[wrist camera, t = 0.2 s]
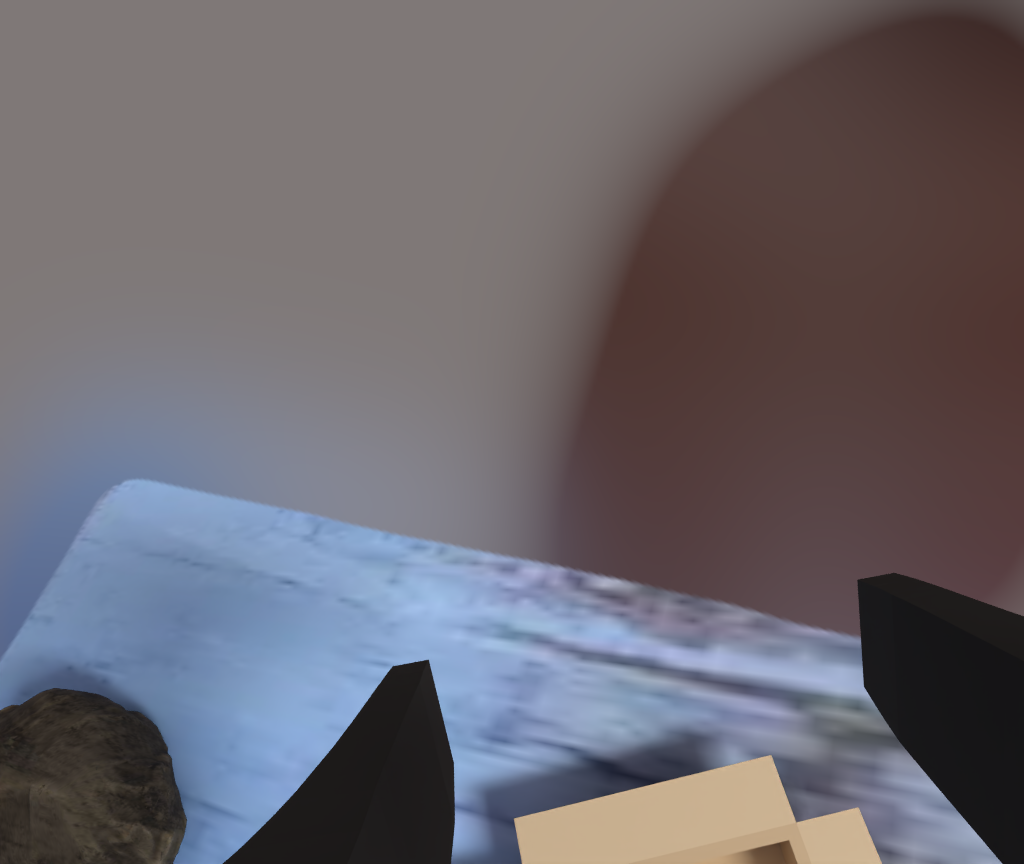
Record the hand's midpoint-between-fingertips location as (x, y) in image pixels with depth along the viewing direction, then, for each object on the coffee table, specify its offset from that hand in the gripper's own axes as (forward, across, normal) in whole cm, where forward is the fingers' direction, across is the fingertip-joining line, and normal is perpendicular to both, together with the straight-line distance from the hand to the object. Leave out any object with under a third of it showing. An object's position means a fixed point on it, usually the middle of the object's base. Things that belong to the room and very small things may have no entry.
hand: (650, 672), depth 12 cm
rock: (+26, +29, +21) cm, 44 cm away
